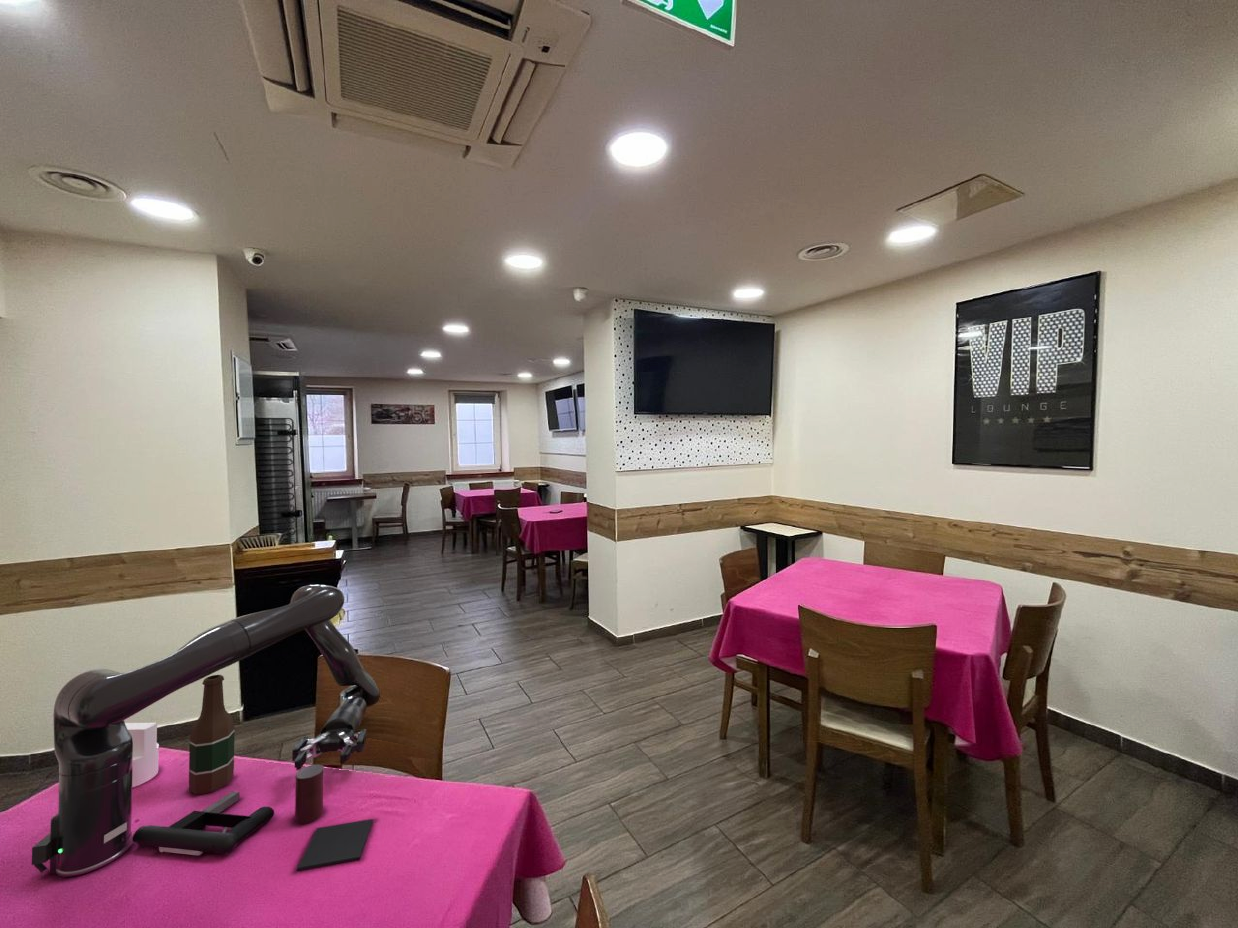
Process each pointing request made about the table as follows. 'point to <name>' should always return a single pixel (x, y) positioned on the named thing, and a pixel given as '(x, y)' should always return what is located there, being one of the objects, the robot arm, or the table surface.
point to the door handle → (195, 841)
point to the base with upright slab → (144, 751)
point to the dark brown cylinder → (309, 794)
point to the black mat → (336, 844)
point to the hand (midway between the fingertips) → (320, 762)
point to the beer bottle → (211, 742)
